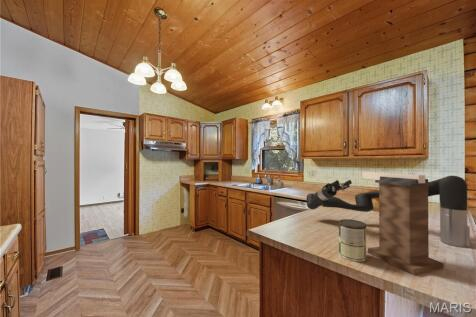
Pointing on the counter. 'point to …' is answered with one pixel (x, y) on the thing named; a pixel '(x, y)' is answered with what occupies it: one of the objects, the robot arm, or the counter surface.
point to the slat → (377, 176)
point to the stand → (404, 225)
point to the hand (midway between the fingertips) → (344, 181)
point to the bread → (375, 202)
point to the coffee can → (352, 240)
